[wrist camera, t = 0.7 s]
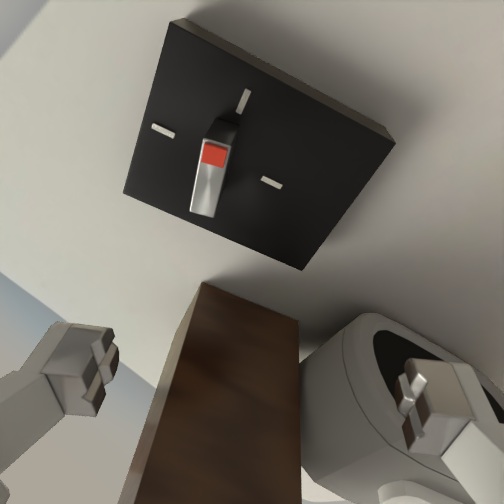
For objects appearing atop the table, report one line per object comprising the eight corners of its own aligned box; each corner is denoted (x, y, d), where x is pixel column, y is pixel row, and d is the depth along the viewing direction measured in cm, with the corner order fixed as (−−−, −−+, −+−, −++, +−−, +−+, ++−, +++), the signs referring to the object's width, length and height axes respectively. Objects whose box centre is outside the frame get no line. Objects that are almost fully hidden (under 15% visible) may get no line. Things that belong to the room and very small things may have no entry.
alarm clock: (503, 377, 37) (591, 538, 26) (428, 415, 42) (476, 564, 31) (347, 284, 31) (376, 439, 21) (283, 341, 36) (280, 489, 26)
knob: (223, 191, 24) (213, 221, 21) (201, 185, 24) (187, 214, 21) (239, 125, 21) (230, 148, 18) (214, 117, 21) (201, 139, 18)
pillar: (175, 332, 37) (86, 594, 21) (202, 281, 33) (114, 564, 17) (262, 364, 39) (241, 627, 23) (298, 320, 35) (304, 609, 19)
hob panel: (137, 175, 27) (121, 194, 24) (183, 17, 21) (168, 21, 18) (301, 248, 30) (302, 272, 27) (386, 127, 23) (397, 144, 21)
